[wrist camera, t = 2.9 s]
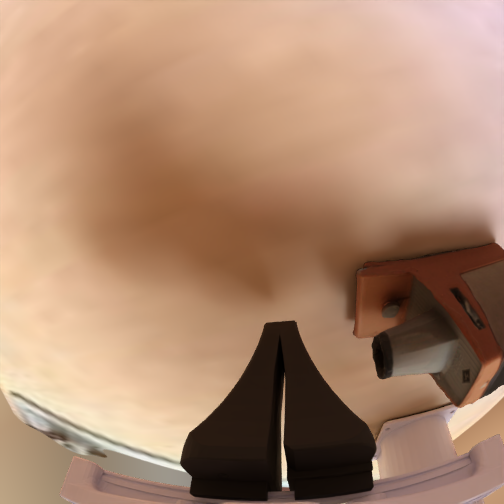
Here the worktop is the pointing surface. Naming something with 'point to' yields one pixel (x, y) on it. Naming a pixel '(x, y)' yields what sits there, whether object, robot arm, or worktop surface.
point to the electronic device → (437, 319)
